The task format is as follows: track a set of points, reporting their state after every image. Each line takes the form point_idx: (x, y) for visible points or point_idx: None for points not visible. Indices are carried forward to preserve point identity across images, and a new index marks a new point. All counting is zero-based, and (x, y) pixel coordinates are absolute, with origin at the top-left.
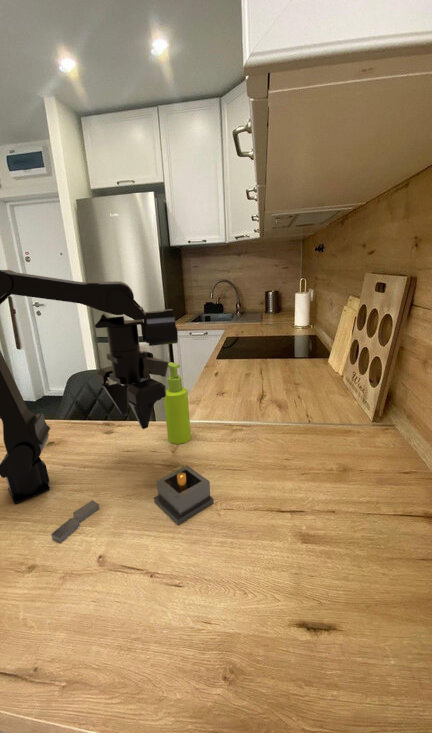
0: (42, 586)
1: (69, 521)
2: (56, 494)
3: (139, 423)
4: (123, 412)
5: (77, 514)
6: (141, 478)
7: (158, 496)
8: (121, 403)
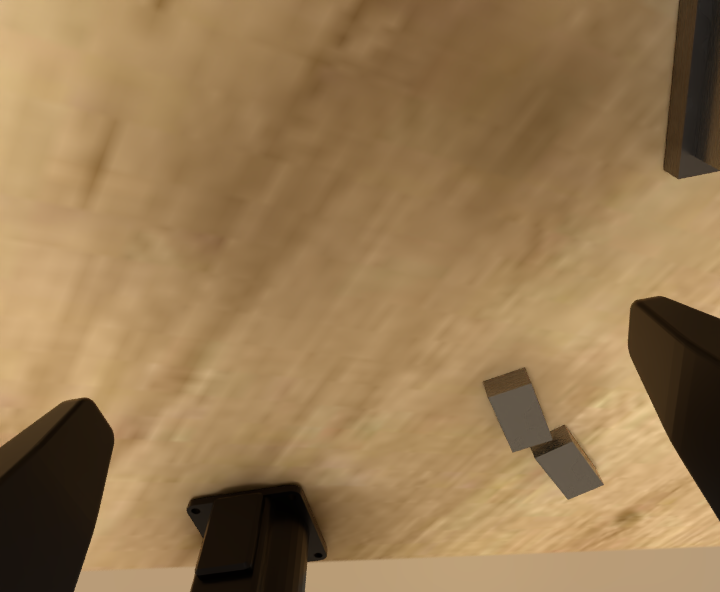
0: None
1: (550, 462)
2: (336, 467)
3: (676, 436)
4: (97, 447)
5: (532, 442)
6: (434, 171)
7: (700, 157)
8: (25, 576)
